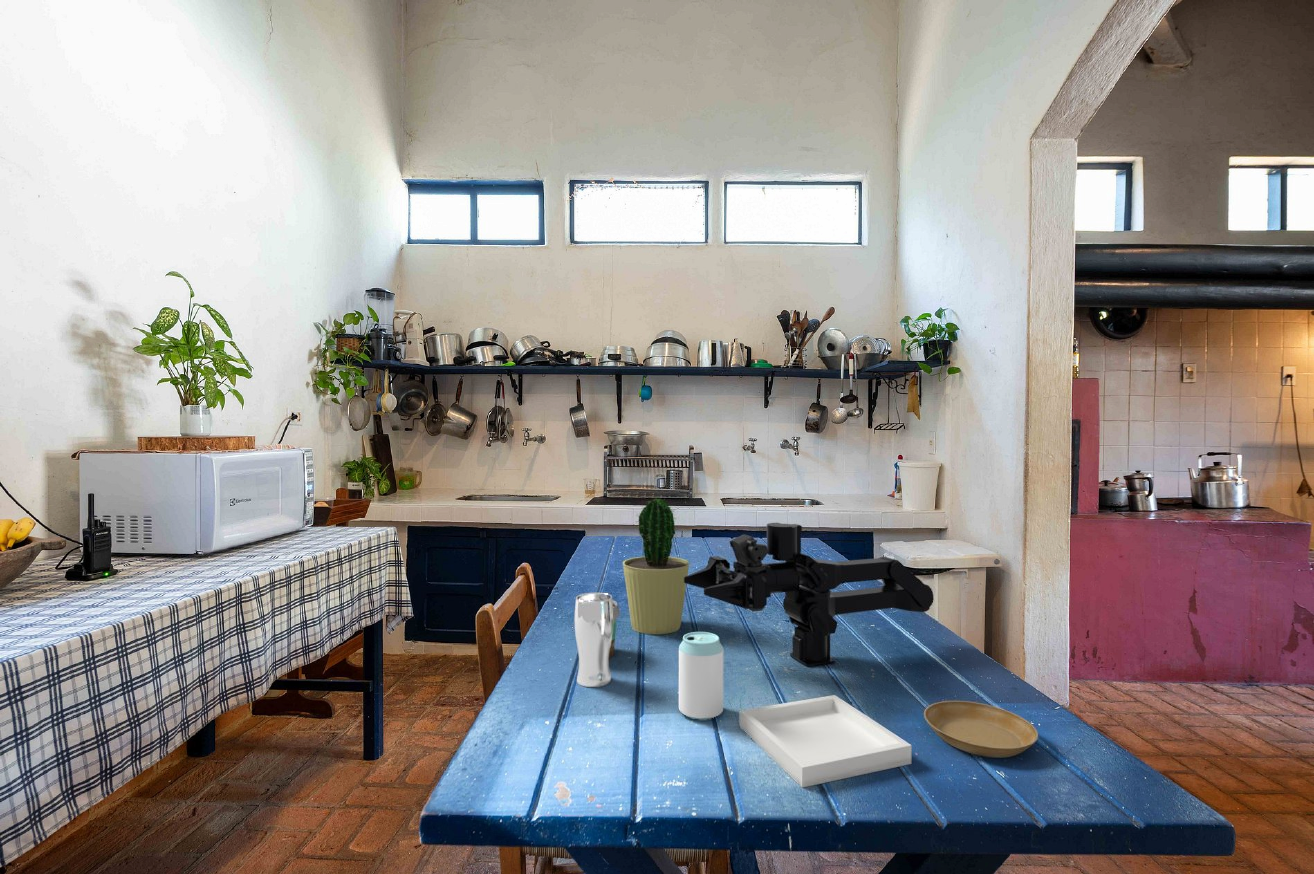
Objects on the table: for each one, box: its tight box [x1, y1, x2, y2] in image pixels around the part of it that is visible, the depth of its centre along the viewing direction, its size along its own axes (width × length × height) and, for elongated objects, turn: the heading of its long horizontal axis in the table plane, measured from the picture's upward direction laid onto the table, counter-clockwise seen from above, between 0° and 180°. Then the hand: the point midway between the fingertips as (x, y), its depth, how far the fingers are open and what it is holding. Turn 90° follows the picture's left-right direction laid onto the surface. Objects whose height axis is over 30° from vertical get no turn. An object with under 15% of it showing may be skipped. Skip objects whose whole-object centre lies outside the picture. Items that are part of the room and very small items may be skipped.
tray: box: [738, 694, 912, 788], centre depth 88 cm, size 17×17×2 cm
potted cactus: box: [622, 498, 690, 635], centre depth 142 cm, size 15×15×30 cm
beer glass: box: [574, 592, 614, 688], centre depth 111 cm, size 7×7×15 cm
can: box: [678, 631, 724, 721], centre depth 98 cm, size 7×7×12 cm
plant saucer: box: [923, 700, 1039, 759], centre depth 90 cm, size 15×15×3 cm
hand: (693, 585), depth 113 cm, fingers open, 9 cm apart
